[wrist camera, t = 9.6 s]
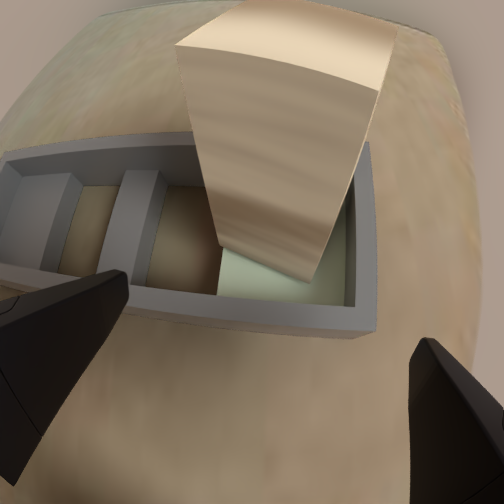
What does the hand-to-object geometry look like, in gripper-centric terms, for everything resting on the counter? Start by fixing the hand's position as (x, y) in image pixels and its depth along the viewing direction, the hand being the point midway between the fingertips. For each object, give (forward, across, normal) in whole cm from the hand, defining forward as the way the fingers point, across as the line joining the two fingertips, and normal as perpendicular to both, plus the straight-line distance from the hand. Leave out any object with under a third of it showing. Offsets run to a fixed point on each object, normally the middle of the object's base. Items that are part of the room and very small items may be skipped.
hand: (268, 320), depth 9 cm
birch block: (+9, +1, 0) cm, 9 cm away
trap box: (+9, +10, +3) cm, 14 cm away
